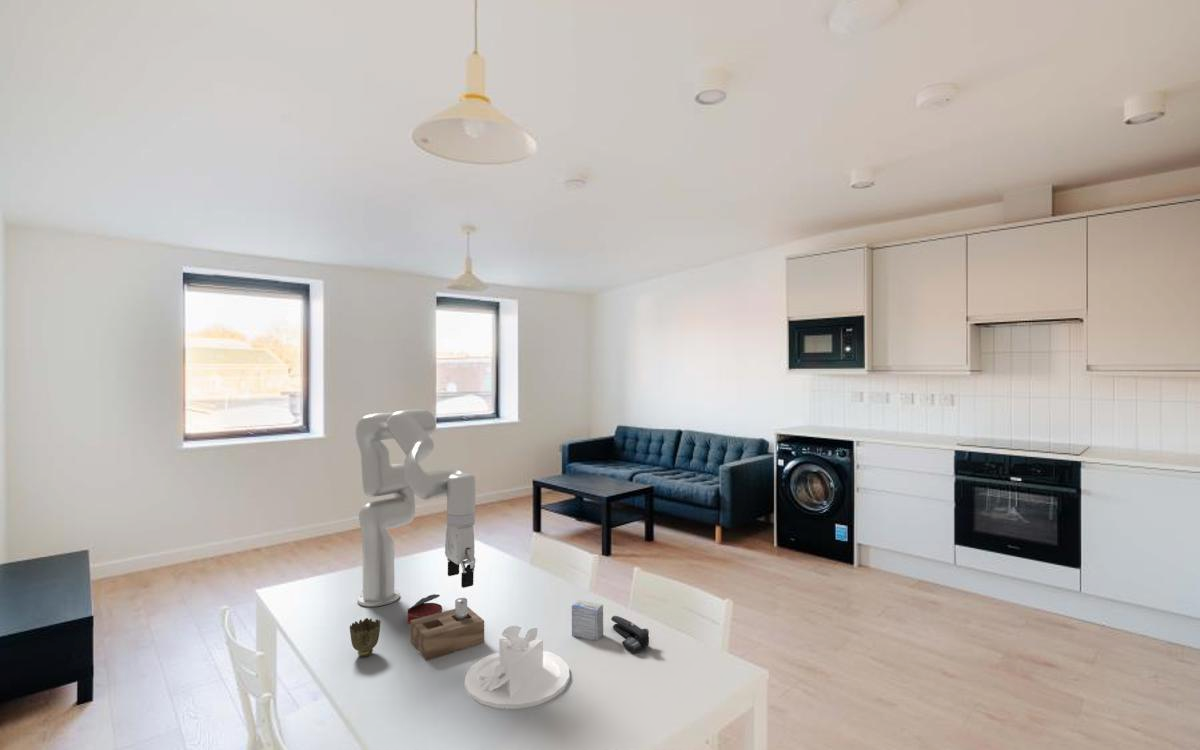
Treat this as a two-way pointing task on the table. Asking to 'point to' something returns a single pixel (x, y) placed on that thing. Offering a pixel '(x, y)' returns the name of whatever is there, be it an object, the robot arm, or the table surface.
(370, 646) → the cup
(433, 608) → the canned food
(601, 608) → the medicine box
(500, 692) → the dish
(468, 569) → the robot arm
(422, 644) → the hole block
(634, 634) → the can opener
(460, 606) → the pin
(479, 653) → the table surface
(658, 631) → the table surface
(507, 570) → the table surface
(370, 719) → the table surface
